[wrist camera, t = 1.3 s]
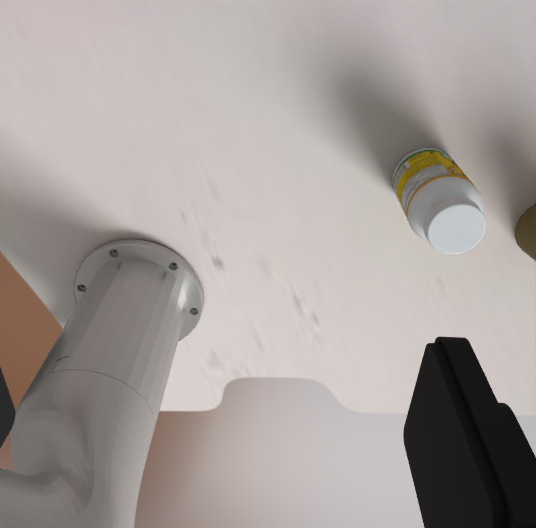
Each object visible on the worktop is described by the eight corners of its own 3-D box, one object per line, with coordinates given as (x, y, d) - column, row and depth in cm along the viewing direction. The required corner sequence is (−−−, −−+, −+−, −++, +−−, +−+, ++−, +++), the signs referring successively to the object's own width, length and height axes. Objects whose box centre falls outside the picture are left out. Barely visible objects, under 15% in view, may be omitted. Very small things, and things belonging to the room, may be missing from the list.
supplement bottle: (383, 161, 42) (407, 211, 34) (446, 135, 40) (488, 181, 32) (401, 214, 44) (428, 272, 36) (462, 191, 43) (503, 247, 35)
